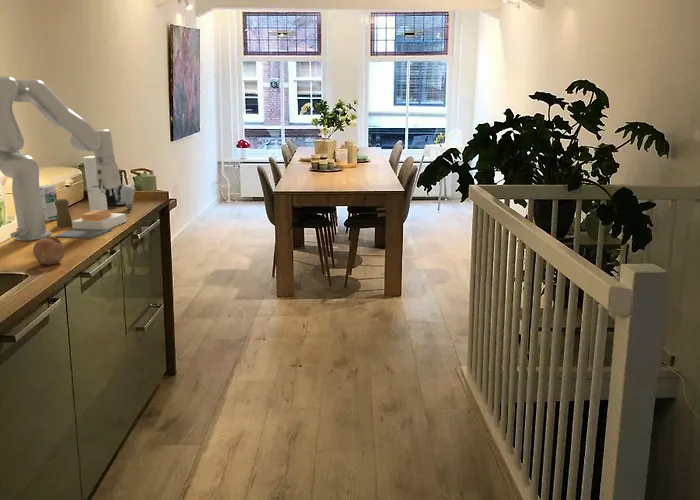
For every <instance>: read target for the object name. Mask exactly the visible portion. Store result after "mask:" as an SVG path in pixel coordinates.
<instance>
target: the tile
mask: <svg viewBox="0 0 700 500" xmlns="http://www.w3.org/2000/svg"><path fill="white" fill-rule="evenodd" d="M111 213H112V212H111V210H110V209H108V210H93V211H90V210H89V211H88V212H85V213H83V214H81V218H82V220H84V221H99V220H101V219H104V218H107V217H110V216H111Z"/></svg>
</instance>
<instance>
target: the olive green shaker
mask: <svg viewBox="0 0 700 500" xmlns="http://www.w3.org/2000/svg"><path fill="white" fill-rule="evenodd" d="M69 204H70V202H69V200H68V199H67V198H57V200H56V201H55V206H56V207H57V219H56V226H57V228H67V227H72V221H73V220H72V217H71V214H70V210H69Z"/></svg>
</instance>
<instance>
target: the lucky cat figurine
mask: <svg viewBox="0 0 700 500" xmlns="http://www.w3.org/2000/svg"><path fill="white" fill-rule="evenodd" d="M123 186H124V184H123V183H121V185H120V186H118V188H117V189H116V194H115V199H116V204H115V205H117V206H120V205H121V206H126V204H125V200H124V198H123V197H122V195H121V193H120V190H121V188H122V187H123ZM134 200H135V199H134V198H133V202H134ZM106 201H107V199H106ZM115 205H114V206H115Z"/></svg>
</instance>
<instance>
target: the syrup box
mask: <svg viewBox="0 0 700 500" xmlns="http://www.w3.org/2000/svg"><path fill="white" fill-rule="evenodd" d="M39 187H40V194H41V200H42V207H43V214H44V220H45V221H46V222H50V221H53V220H57V207H56V206H55V201H56V200H57V199H58V196H57V192H56V191H57V190H56V185H53V184H44V185H39Z"/></svg>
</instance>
